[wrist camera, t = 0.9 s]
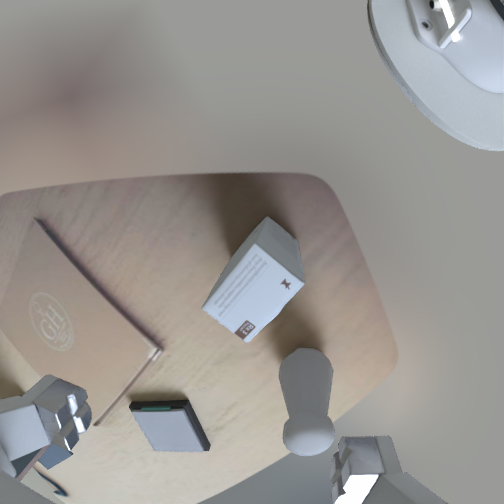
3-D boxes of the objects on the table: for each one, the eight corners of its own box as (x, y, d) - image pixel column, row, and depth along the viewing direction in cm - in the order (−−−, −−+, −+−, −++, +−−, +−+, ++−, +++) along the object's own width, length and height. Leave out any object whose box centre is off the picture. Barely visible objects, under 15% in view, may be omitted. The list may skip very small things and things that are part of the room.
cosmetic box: (266, 214, 31) (252, 234, 19) (301, 243, 31) (309, 280, 19) (227, 261, 32) (194, 306, 21) (262, 288, 33) (247, 346, 21)
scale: (131, 401, 39) (126, 409, 37) (188, 399, 37) (184, 408, 35) (156, 445, 40) (153, 452, 38) (210, 445, 39) (208, 453, 37)
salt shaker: (314, 330, 33) (324, 409, 20) (339, 366, 34) (357, 447, 21) (269, 356, 34) (258, 438, 22) (296, 389, 35) (296, 472, 22)
